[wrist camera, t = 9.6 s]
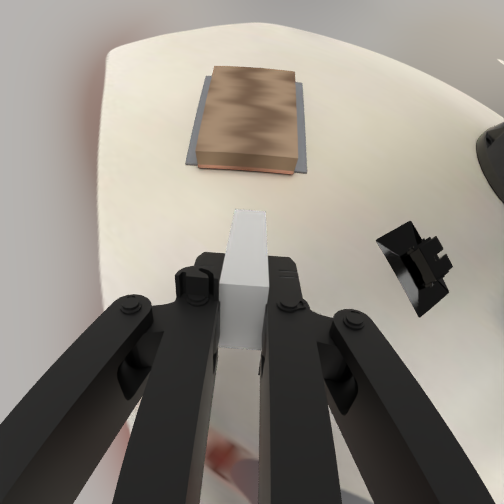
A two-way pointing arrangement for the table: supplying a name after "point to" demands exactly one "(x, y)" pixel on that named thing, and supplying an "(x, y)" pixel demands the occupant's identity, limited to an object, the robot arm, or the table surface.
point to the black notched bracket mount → (417, 265)
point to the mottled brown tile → (249, 121)
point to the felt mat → (302, 161)
